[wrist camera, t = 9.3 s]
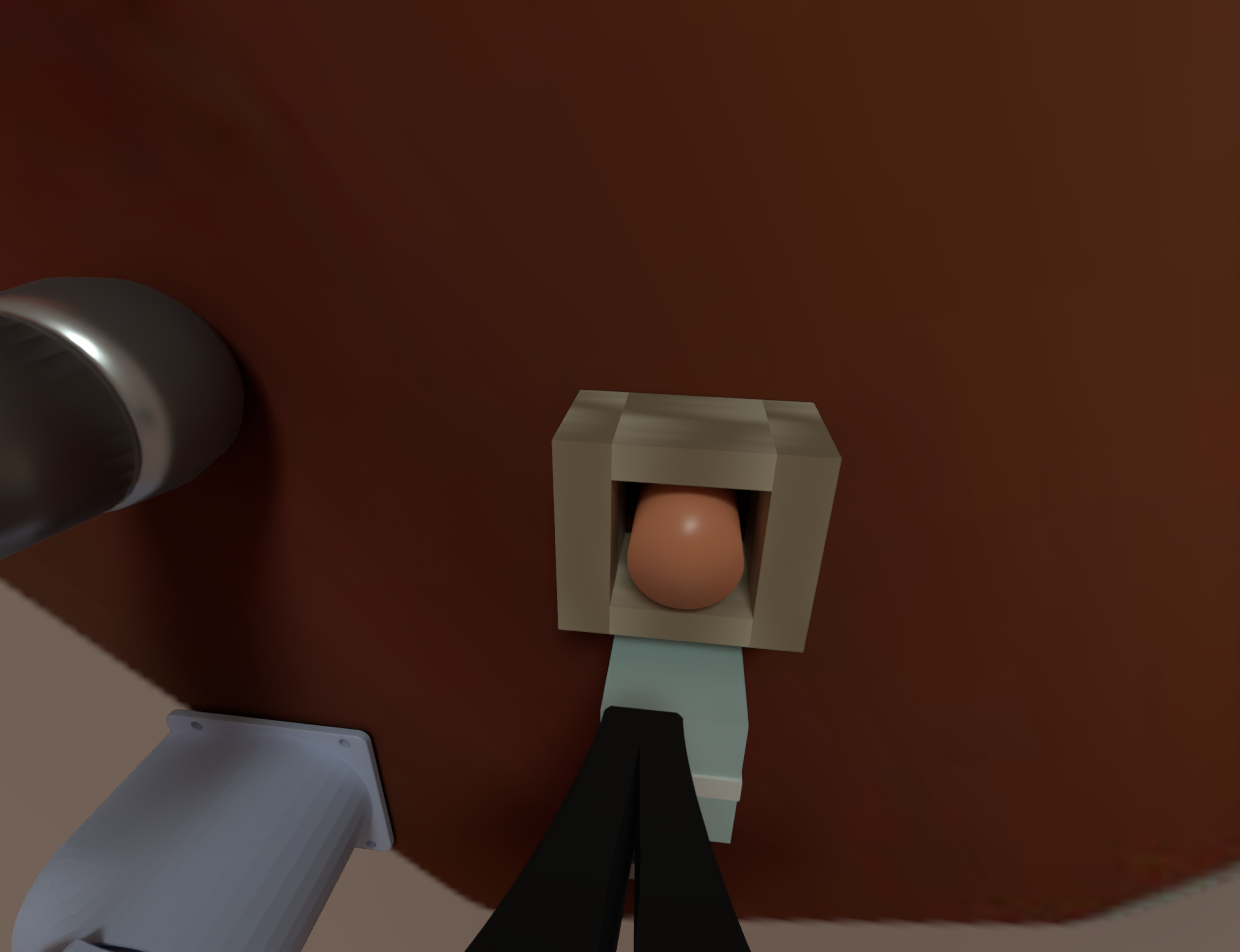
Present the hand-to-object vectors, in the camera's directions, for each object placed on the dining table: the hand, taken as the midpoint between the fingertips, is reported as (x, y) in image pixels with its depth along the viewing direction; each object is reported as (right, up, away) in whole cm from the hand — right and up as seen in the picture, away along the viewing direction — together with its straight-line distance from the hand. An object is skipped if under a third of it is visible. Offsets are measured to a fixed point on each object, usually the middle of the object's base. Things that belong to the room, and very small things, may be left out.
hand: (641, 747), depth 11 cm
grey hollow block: (+2, +5, +8) cm, 10 cm away
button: (+2, +5, +8) cm, 9 cm away
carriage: (+2, -2, +10) cm, 10 cm away
